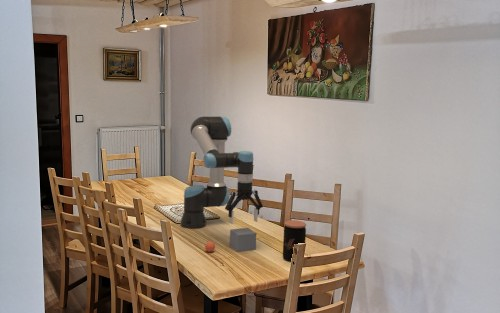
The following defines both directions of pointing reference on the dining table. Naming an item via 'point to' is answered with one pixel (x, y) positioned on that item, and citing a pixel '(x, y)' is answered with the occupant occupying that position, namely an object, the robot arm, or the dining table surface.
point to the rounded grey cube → (242, 239)
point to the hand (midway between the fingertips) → (243, 222)
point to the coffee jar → (293, 237)
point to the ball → (210, 246)
